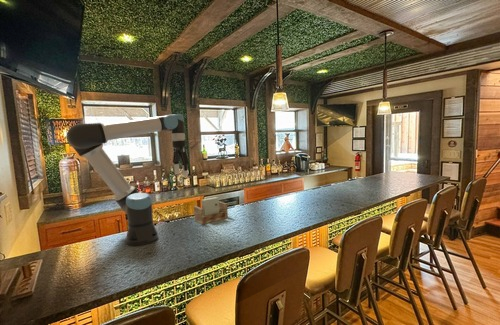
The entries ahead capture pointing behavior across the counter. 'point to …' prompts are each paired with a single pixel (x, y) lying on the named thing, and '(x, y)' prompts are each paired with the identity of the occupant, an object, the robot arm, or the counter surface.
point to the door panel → (210, 206)
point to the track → (210, 218)
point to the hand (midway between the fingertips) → (181, 175)
